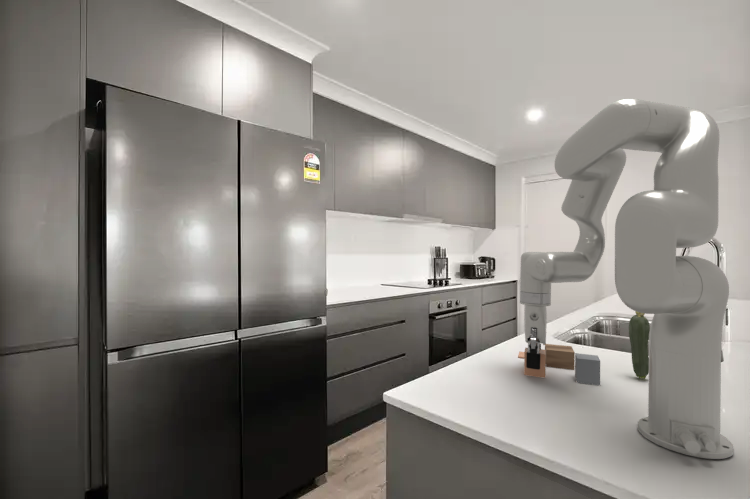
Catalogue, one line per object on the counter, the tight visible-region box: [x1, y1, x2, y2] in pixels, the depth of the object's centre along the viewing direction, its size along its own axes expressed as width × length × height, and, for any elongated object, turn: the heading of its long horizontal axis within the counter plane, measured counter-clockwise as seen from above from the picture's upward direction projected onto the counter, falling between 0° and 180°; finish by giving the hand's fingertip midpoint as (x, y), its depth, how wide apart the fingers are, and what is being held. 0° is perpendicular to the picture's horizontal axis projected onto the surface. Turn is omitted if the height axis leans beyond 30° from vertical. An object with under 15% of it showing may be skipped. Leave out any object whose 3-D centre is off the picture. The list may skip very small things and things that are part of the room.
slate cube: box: [574, 352, 601, 386], centre depth 92 cm, size 5×5×6 cm
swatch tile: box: [517, 351, 525, 359], centre depth 112 cm, size 6×6×1 cm
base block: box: [544, 343, 575, 371], centre depth 105 cm, size 7×7×5 cm
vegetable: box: [628, 311, 651, 379], centre depth 93 cm, size 4×4×20 cm
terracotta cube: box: [523, 347, 546, 379], centre depth 97 cm, size 5×5×6 cm
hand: (533, 362), depth 98 cm, fingers open, 9 cm apart
